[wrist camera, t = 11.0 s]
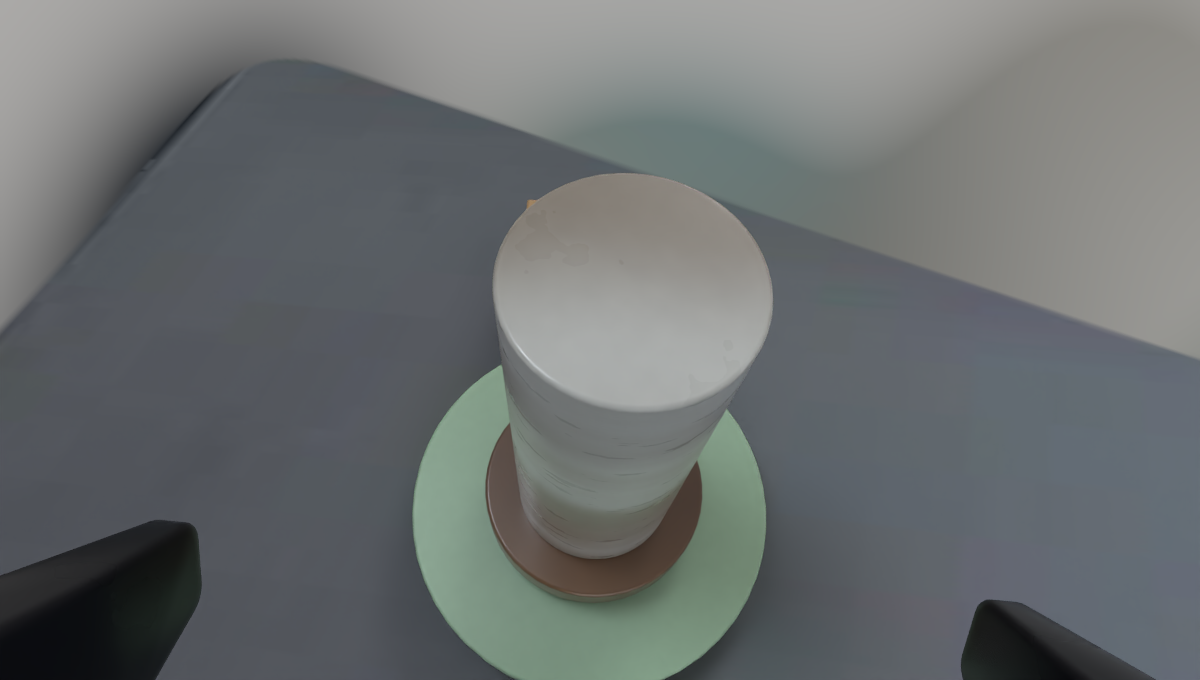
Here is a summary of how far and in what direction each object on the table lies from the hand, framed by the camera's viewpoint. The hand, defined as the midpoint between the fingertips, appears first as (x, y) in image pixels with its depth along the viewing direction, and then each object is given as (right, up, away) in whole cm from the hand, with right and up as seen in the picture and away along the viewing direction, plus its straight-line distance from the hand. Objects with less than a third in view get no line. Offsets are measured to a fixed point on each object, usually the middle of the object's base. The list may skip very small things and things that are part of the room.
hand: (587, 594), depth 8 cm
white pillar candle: (0, +2, +11) cm, 11 cm away
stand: (0, -2, +11) cm, 11 cm away
